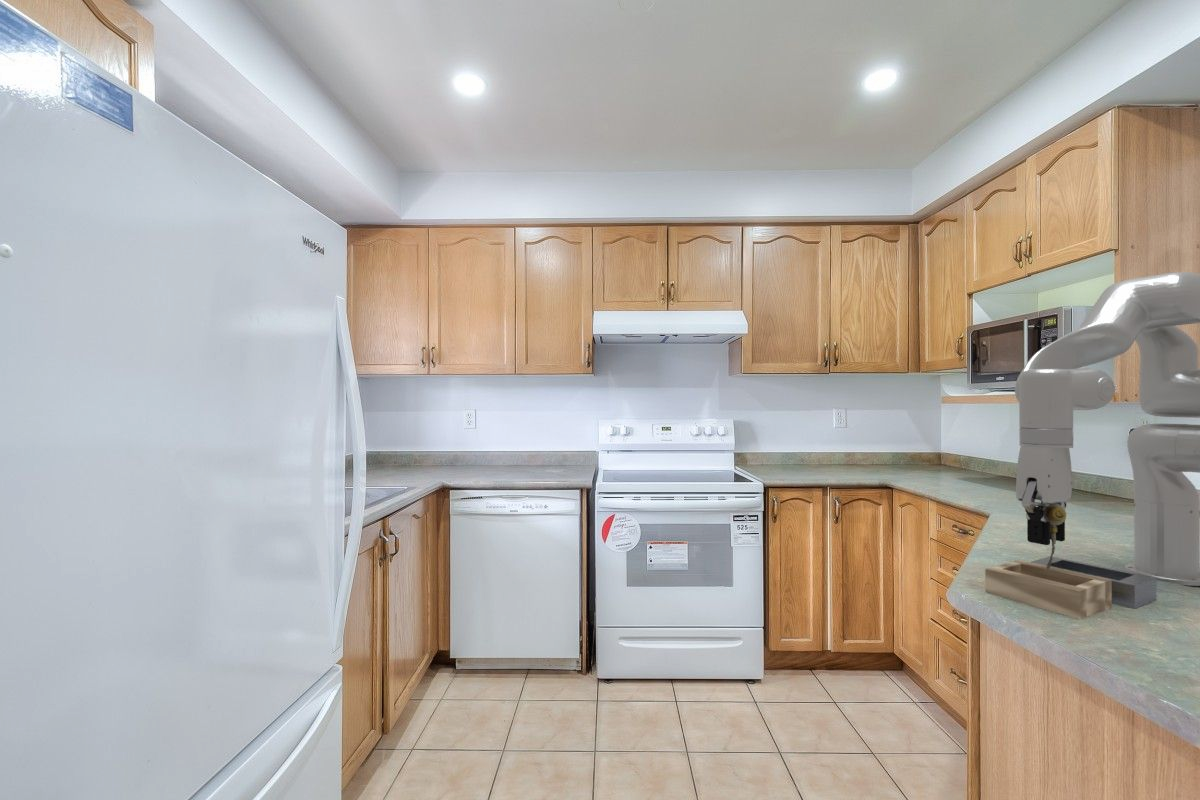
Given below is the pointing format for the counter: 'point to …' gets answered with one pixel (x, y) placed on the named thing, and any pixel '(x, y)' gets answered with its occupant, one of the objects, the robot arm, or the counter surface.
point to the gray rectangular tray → (1113, 581)
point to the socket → (1050, 588)
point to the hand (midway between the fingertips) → (1046, 540)
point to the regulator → (1054, 523)
